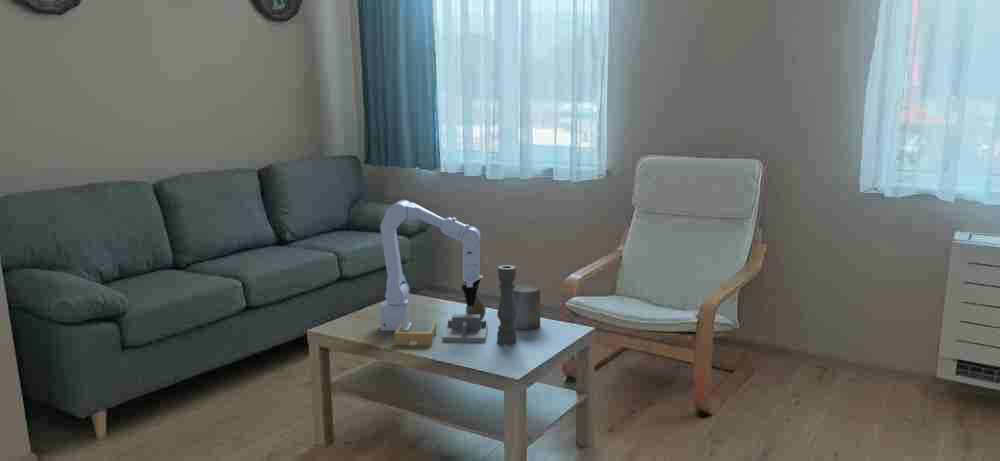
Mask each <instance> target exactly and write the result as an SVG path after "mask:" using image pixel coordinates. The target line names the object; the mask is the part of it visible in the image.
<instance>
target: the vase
mask: <svg viewBox="0 0 1000 461" xmlns="http://www.w3.org/2000/svg"><path fill="white" fill-rule="evenodd" d="M465 312H466V313H465V314H475V315H480V322H481V320H484V318H485V316H486V305H485V303H484V302H483V300H482V299H481V298H480V295H477V294H476V298H475V302H474V306H467V305H466V307H465Z"/></svg>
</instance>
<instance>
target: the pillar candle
mask: <svg viewBox="0 0 1000 461" xmlns="http://www.w3.org/2000/svg"><path fill="white" fill-rule="evenodd" d="M540 287H541V286H538V285H535V284H527V283H526V284H525V283H523V284H517V285H515V288H514V289H513V301H514V306H515V310H516V317H515V319H514V322H513V324H514V326H515V327H516V328H515V329H517V330H523V331H527V330H528V331H530V330H534V329H535V330H536V329H538V328H540V327H541V288H540Z"/></svg>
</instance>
